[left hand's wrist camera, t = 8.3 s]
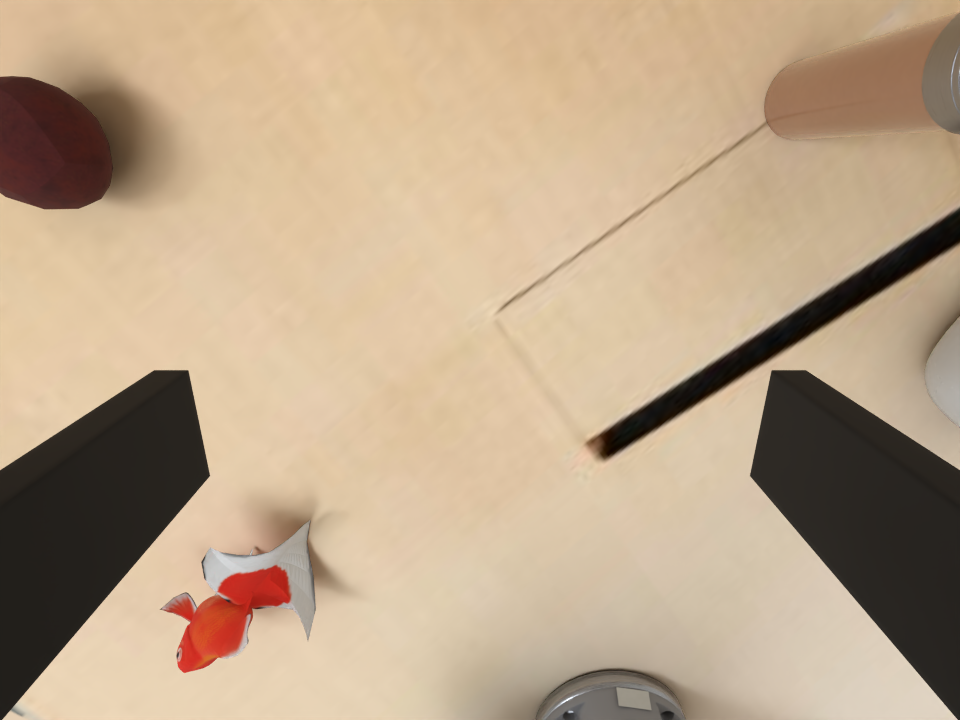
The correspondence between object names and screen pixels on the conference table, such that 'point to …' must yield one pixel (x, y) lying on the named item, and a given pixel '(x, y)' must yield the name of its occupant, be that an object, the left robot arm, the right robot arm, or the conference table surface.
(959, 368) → the projector
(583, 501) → the conference table surface
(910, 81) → the jar
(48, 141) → the dark maroon ball
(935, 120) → the lid
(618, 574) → the conference table surface
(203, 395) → the conference table surface
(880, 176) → the conference table surface
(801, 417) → the left robot arm
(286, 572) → the fish
